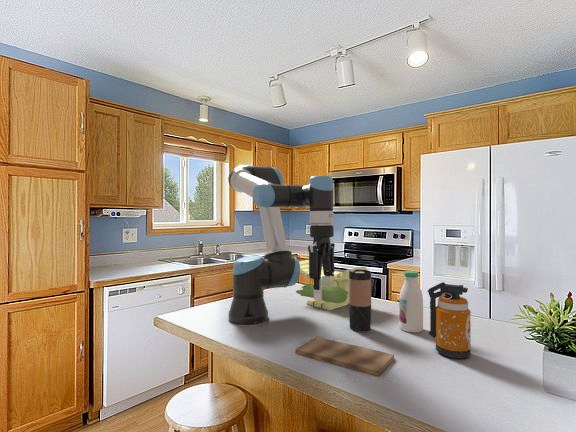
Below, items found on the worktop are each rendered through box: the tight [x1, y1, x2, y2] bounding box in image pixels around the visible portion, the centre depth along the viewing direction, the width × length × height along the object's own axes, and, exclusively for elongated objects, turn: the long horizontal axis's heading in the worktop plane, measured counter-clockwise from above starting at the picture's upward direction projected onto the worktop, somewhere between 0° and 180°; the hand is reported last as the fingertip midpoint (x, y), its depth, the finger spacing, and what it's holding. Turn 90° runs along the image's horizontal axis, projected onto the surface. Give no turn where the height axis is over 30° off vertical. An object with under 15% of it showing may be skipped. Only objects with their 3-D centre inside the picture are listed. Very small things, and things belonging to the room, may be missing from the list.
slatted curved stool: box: [299, 259, 368, 311], centre depth 149 cm, size 30×16×18 cm, turn 44°
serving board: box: [295, 335, 395, 377], centre depth 94 cm, size 24×12×1 cm, turn 56°
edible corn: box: [295, 283, 349, 303], centre depth 107 cm, size 5×20×5 cm
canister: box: [427, 281, 472, 359], centre depth 96 cm, size 9×11×20 cm
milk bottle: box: [398, 270, 424, 333], centre depth 116 cm, size 8×8×20 cm
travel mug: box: [348, 269, 372, 333], centre depth 117 cm, size 8×8×20 cm
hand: (322, 297), depth 106 cm, fingers closed on edible corn, 5 cm apart
